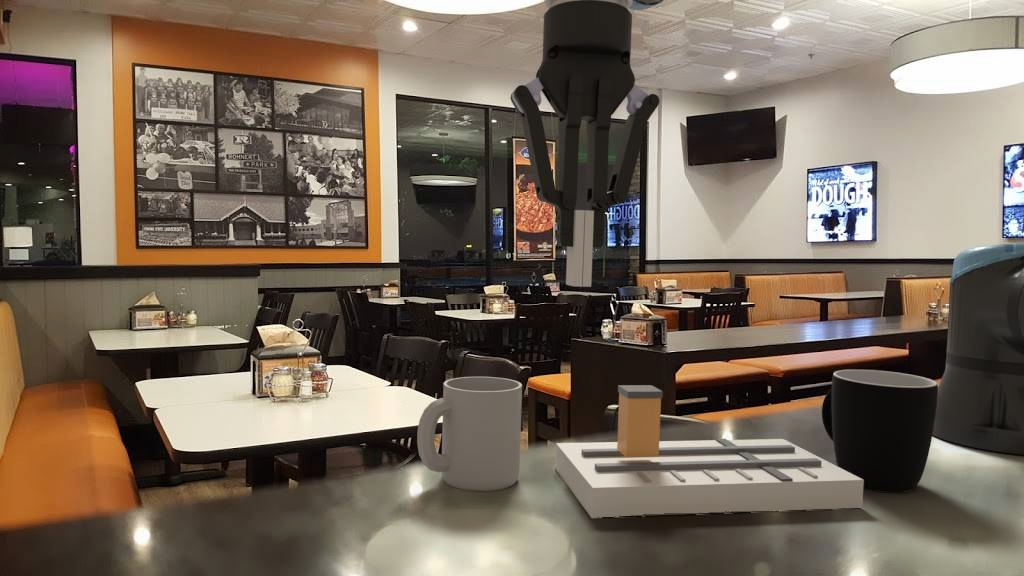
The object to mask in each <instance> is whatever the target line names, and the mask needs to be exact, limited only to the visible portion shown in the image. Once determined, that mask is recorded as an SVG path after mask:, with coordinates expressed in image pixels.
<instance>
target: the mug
mask: <svg viewBox="0 0 1024 576" xmlns="http://www.w3.org/2000/svg"><path fill="white" fill-rule="evenodd" d="M938 386H939V384H938V383H937V382H936V381H935V380H933V379H931V378H927V377H924V376H919V375H914V374H909V373H902V372H896V371H895V372H894V371H887V370H877V369H842V370H836V371H834V372H833V374H832V379H831V389H829V390H828V391H827V393H826V395H825V396H824V399H823V402H822V405H821V420H822V423H823V427H824V429H825V431H826V434H827V436H828V437H829V439H831V441H832V442H833V449H834V457H835V460H836V466H837V467H839V468H841V469H843V470H845V471H847V472H849V473H851V474H853V475H855V476H857V477H859V478H861V479H863V480H864V484H863V489H865V490H869V489H870V491H875V492H880V493H881V492H883V493H894V494H895V493H898V494H899V493H908V492H911V491H913V490H914V489H915V488H916V487H917V486H918V484H919V483H920V481H921V480H922V478H923V474H924V472H925V468H926V465H927V462H928V457H929V454H930V453H929V452H930V449H931V446H932V445H931V444H932V439H933V435H932V434H933V428H934V422H935V415H936V406H937V396H938Z"/></svg>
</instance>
